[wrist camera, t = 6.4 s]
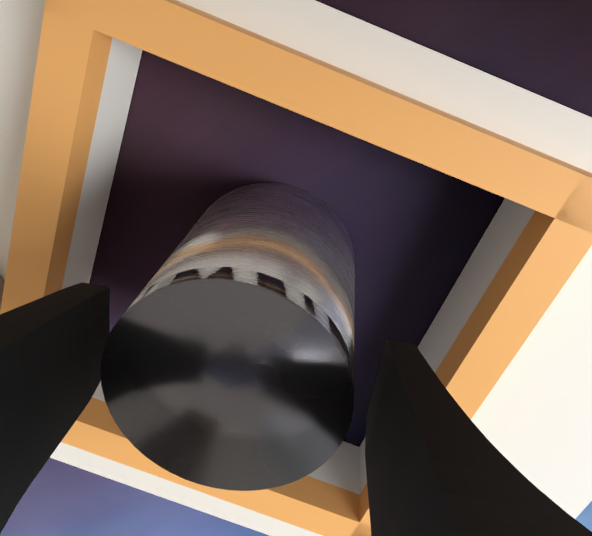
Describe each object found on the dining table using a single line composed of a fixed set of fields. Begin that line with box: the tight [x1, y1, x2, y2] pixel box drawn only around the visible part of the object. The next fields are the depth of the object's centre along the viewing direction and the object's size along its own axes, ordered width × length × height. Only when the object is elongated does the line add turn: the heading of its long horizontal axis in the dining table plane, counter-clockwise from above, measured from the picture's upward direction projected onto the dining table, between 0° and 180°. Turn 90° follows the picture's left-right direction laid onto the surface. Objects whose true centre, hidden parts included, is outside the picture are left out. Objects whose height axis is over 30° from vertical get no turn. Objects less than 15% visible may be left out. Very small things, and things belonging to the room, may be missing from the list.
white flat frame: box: [0, 0, 592, 536], centre depth 14 cm, size 22×15×3 cm
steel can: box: [100, 183, 355, 491], centre depth 13 cm, size 5×5×6 cm
